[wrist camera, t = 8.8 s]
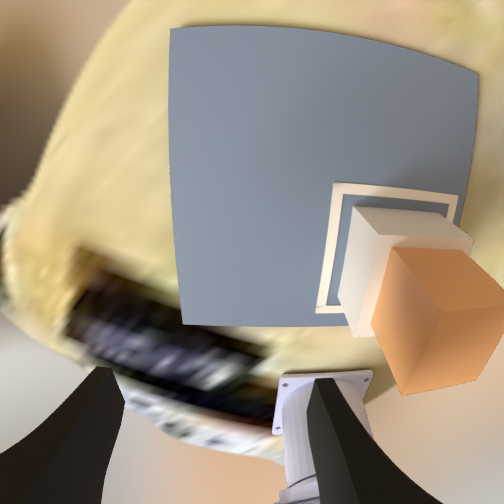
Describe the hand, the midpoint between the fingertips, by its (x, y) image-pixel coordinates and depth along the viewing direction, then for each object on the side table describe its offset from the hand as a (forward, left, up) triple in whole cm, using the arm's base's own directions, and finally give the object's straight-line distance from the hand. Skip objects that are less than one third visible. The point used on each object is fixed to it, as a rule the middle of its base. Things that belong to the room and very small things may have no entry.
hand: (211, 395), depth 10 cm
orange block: (+1, -10, -5) cm, 11 cm away
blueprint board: (+5, -6, -10) cm, 12 cm away
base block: (+1, -10, -9) cm, 14 cm away
